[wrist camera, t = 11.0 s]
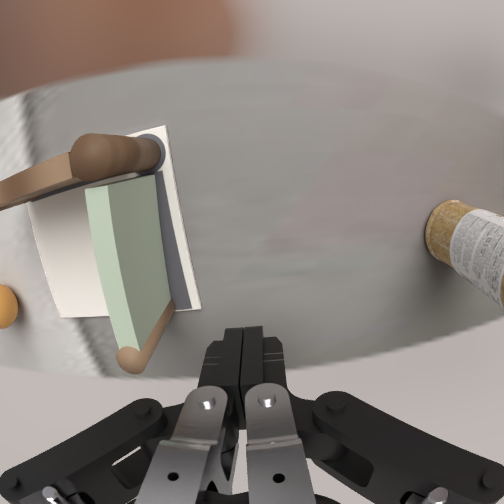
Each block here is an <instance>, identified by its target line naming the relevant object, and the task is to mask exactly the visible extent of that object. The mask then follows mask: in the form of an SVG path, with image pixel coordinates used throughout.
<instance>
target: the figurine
mask: <svg viewBox="0 0 504 504" xmlns="http://www.w3.org/2000/svg"><path fill="white" fill-rule="evenodd" d="M17 314H18V303H17V299H16V297H15V295H14V293H13V292H12V291H11V290H10V289H9V288H8V287H6V286H4V285H1V284H0V329H4V328H7V327H9V326H10V325H12V324H13V322H14V321H15V319H16V317H17Z"/></svg>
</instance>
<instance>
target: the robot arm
mask: <svg viewBox="0 0 504 504" xmlns="http://www.w3.org/2000/svg"><path fill="white" fill-rule="evenodd" d="M246 428H247V445H246V457H247V474H248V489H249V492H244V493H240V494H235V495H232V483H233V477H234V472H235V465H236V459H237V453H238V448H239V444H238V438H239V430H244V429H246ZM139 446H140V447H141V449H139V450H138V451H136V452H135V453H133V454H131V455H130V456H128V457H127V458H125V459H124V460H122V461H120V462H119V463H117V464H116V465H113V466H112V464H113V463H114V462H115V461H117V460H119V459H120V458H122V457H123V456H125V455H127V454H128V453H129V452H131V451H133V450H134V449H136V448H137V447H139ZM306 458H311V459H312V461H313V462H314V463H315V464H316V465H317V466H318V467H320V468H321V469H323V470H324V471H326V472H327V473H328V474H330V475H331V476H333V477H334V478H336V479H337V480H338V481H340V482H342V483H343V484H345V485H346V486H348V487H349V488H351V489H352V490H354V491H355V492H357V493H358V494H360V495H362V496H363V497H365V498H366V499H368V500H370V501H371V502H373V503H375V504H495V503H497V502H498V501H499V500H500V499H501V498H502V497H503V496H504V466H503V465H501V464H499V463H497V462H494V461H492V460H489V459H486V458H484V457H481V456H479V455H476V454H474V453H471V452H469V451H467V450H464V449H461V448H459V447H457V446H455V445H452V444H450V443H448V442H446V441H443V440H441V439H439V438H437V437H434V436H432V435H430V434H428V433H425V432H423V431H421V430H419V429H417V428H415V427H413V426H411V425H409V424H407V423H405V422H403V421H401V420H398V419H396V418H395V417H393V416H391V415H389V414H387V413H385V412H383V411H381V410H379V409H377V408H375V407H373V406H371V405H369V404H367V403H365V402H363V401H362V400H360V399H358V398H356V397H354V396H352V395H351V394H348V393H346V392H342V391H331V392H327V393H324V394H322V395H321V396H319V397H318V398H317V399H316V400H315V401H313V400H305V399H301V398H298V397H296V396H294V395H293V394H291V393H290V391H289V390H288V388H287V383H286V374H285V365H284V356H283V348H282V343H281V342H280V341H279V340H278V338H277V337H267V338H264V337H263V327H262V326H254V327H245V328H243V327H242V328H226V329H225V334H224V339H223V341H213V342H212V343H211V345H210V346H209V347H208V348H207V350H206V354H205V358H204V362H203V366H202V370H201V374H200V379H199V383H198V387H197V389H195V390H193V391H192V392H191V393H190V394H189V395H188V396H187V398H186V400H185V402H184V403H182V404H179V405H175V406H170V407H165V408H163V407H162V405H161V404H160V403H159V402H158V401H156V400H154V399H149V398H144V399H139V400H136V401H134V402H132V403H130V404H128V405H127V406H125V407H124V408H122V409H120V410H118V411H117V412H115V413H113V414H112V415H110V416H108V417H107V418H105V419H103V420H101V421H100V422H98V423H96V424H94V425H93V426H91V427H89V428H88V429H86V430H84V431H82V432H80V433H78V434H77V435H75V436H73V437H71V438H69V439H67V440H66V441H64V442H62V443H60V444H58V445H57V446H54V447H53V448H51V449H49V450H47V451H45V452H43V453H41V454H39V455H37V456H35V457H33V458H31V459H29V460H27V461H25V462H23V463H21V464H19V465H17V466H15V467H13V468H11V469H9V470H7V471H5V472H4V473H3V474H2V475H1V477H0V494H1V495H2V497H3V498H5V499H6V500H7V501H8V502H9V503H10V504H126V503H127V502H129V501H130V500H132V499H134V498H135V497H137V498H136V499H134V500H132V501H130V502H129V503H127V504H340V503H338V502H337V501H335V500H332V499H330V498H327V497H325V496H321V495H317V494H314V492H313V487H312V483H311V479H310V474H309V470H308V465H307V461H306Z"/></svg>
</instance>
